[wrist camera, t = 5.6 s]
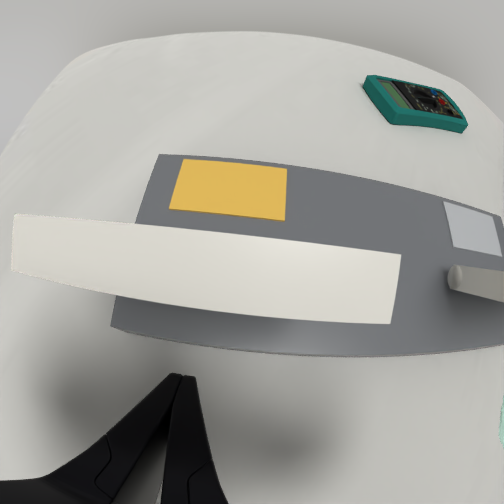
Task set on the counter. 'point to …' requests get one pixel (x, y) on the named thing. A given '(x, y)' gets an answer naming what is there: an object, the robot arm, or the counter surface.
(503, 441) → the cloth
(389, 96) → the digital multimeter
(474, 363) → the counter surface
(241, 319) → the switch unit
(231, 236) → the white square panel
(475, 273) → the lever
